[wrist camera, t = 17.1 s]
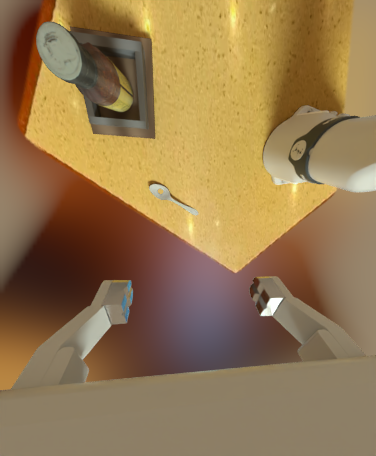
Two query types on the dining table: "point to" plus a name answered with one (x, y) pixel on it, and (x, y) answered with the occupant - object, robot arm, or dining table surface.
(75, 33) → the box
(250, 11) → the dining table surface
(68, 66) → the sauce bottle
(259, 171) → the dining table surface
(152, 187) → the spoon
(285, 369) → the robot arm
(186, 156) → the dining table surface
